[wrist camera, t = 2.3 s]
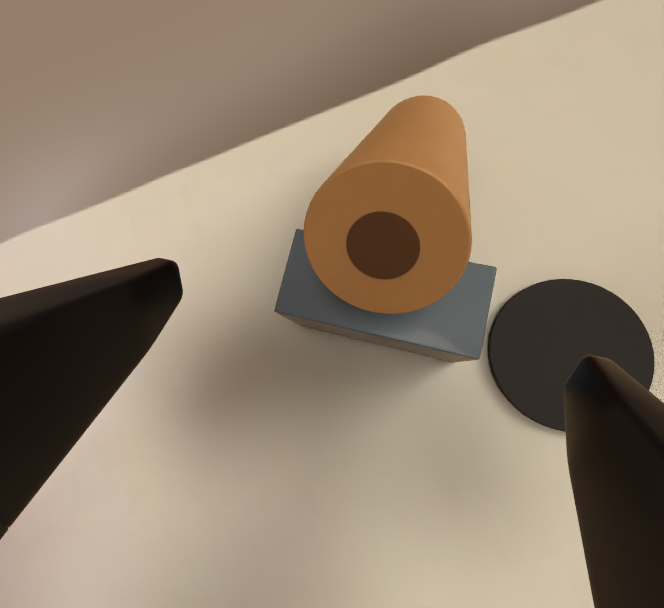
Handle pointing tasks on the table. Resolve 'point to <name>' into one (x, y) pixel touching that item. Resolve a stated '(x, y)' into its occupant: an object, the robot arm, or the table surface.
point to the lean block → (392, 329)
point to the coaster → (562, 343)
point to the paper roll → (396, 212)
